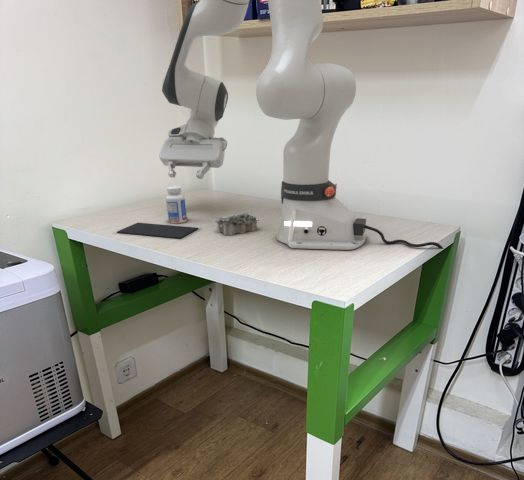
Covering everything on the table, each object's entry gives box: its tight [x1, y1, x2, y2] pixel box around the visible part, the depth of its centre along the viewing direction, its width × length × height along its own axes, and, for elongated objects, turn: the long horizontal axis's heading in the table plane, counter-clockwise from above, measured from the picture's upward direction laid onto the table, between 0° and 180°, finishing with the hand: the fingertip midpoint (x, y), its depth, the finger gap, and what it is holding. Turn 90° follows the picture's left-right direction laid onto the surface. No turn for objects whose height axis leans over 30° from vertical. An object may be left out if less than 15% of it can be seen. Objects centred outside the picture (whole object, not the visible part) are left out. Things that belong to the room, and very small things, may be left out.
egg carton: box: [214, 211, 260, 236], centre depth 131 cm, size 11×8×4 cm
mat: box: [116, 222, 199, 240], centre depth 133 cm, size 20×10×1 cm, turn 69°
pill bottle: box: [165, 185, 188, 224], centre depth 140 cm, size 6×5×10 cm
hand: (185, 177), depth 142 cm, fingers open, 8 cm apart
